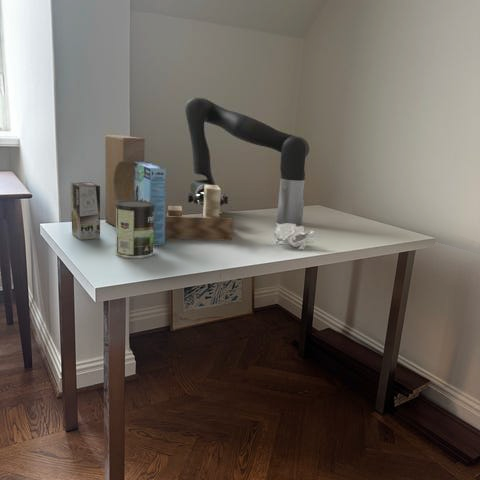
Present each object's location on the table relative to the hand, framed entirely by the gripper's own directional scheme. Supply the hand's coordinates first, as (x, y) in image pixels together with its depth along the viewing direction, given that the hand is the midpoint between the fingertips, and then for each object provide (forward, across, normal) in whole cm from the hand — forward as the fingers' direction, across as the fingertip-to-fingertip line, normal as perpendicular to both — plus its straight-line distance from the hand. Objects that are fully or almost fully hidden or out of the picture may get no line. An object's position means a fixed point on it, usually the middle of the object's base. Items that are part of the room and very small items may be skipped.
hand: (209, 202), depth 162 cm
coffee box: (+15, -39, +10) cm, 43 cm away
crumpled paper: (+20, +26, +10) cm, 34 cm away
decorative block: (-1, -29, +10) cm, 31 cm away
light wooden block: (+8, 0, +10) cm, 13 cm away
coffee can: (+33, -23, +10) cm, 41 cm away
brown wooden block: (+8, -5, +10) cm, 13 cm away
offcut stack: (+8, -12, +10) cm, 17 cm away
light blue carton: (+15, -20, +10) cm, 27 cm away
